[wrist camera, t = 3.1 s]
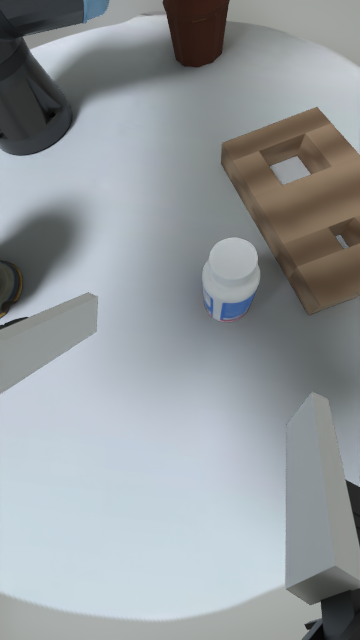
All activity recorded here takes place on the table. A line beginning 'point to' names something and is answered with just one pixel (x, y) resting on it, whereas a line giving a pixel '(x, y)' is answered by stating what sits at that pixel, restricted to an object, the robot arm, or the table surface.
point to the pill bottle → (230, 279)
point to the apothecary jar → (9, 285)
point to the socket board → (304, 204)
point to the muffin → (196, 29)
